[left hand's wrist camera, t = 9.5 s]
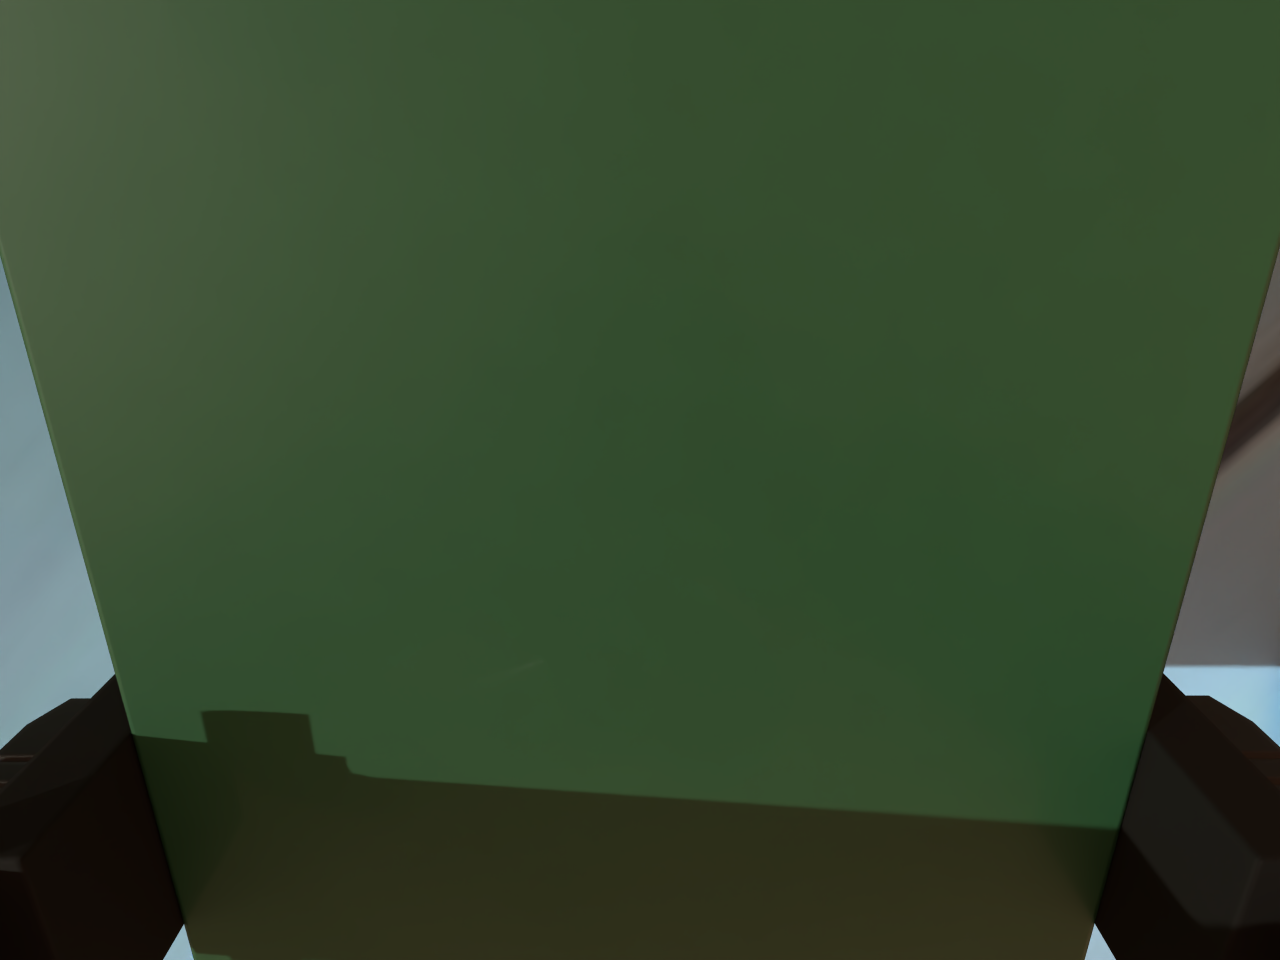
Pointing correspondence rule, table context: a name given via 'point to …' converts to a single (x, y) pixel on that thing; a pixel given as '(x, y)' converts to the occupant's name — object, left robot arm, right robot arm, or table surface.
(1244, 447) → the table surface
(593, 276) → the cabinet
